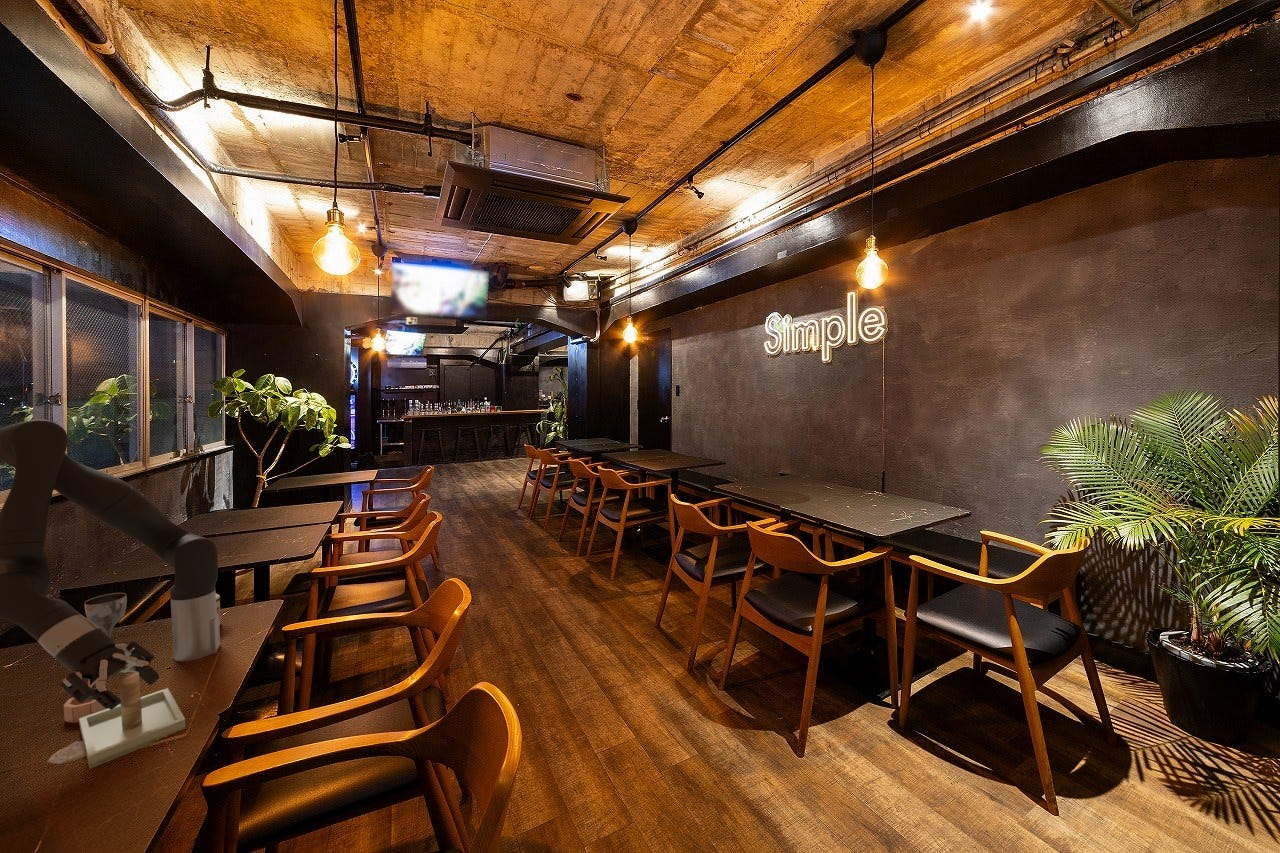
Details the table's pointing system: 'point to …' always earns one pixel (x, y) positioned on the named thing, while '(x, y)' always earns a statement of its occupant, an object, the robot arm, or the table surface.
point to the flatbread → (69, 753)
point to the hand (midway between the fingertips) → (136, 693)
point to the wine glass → (106, 611)
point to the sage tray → (112, 741)
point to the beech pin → (130, 701)
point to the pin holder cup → (80, 709)
